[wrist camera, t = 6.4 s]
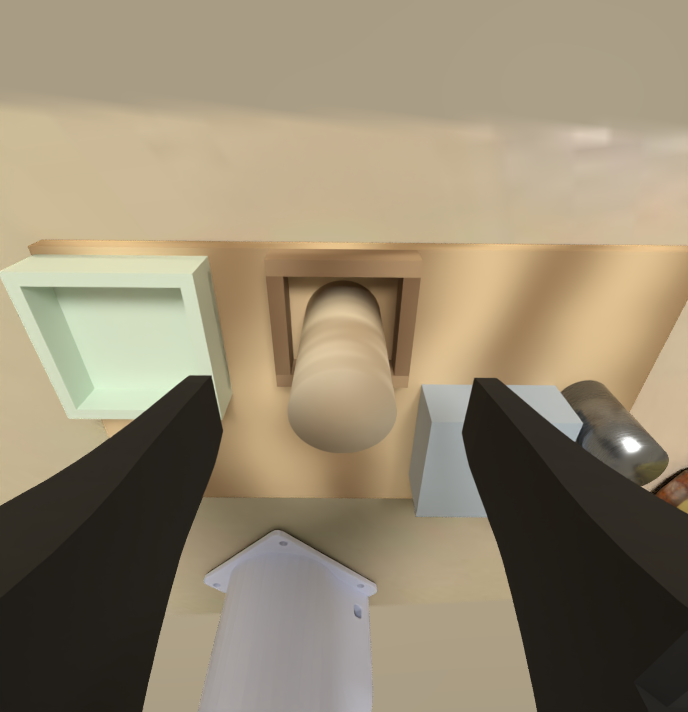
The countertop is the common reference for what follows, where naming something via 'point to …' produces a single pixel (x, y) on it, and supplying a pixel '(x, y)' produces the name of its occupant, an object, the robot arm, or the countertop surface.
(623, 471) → the bench dogs
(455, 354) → the bench board
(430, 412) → the slate block
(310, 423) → the beech dowel
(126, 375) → the sage tray
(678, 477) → the sauce bottle
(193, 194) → the countertop surface
